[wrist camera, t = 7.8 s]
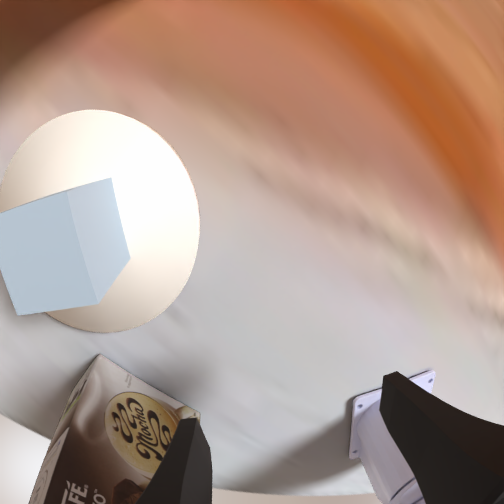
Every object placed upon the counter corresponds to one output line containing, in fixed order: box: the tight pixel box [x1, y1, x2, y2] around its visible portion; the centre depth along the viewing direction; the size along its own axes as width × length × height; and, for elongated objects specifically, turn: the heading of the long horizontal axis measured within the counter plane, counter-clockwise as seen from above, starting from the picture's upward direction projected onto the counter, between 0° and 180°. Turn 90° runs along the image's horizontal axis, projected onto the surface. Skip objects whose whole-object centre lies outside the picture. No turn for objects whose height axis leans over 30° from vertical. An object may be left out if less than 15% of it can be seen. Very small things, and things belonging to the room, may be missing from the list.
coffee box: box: [29, 354, 200, 504], centre depth 14 cm, size 9×6×16 cm
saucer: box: [0, 110, 200, 333], centre depth 16 cm, size 13×13×1 cm
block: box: [0, 177, 131, 316], centre depth 13 cm, size 4×4×6 cm
